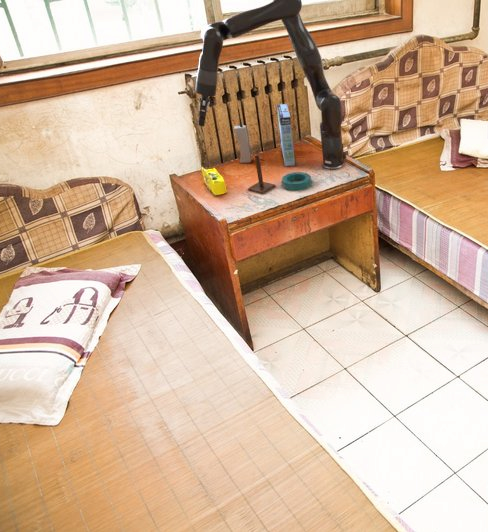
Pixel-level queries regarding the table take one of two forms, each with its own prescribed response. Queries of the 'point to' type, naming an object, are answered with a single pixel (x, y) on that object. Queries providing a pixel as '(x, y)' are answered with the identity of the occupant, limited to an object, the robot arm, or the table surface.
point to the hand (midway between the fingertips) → (201, 123)
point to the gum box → (286, 134)
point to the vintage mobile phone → (243, 142)
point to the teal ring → (299, 185)
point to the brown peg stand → (260, 180)
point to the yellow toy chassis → (214, 181)
